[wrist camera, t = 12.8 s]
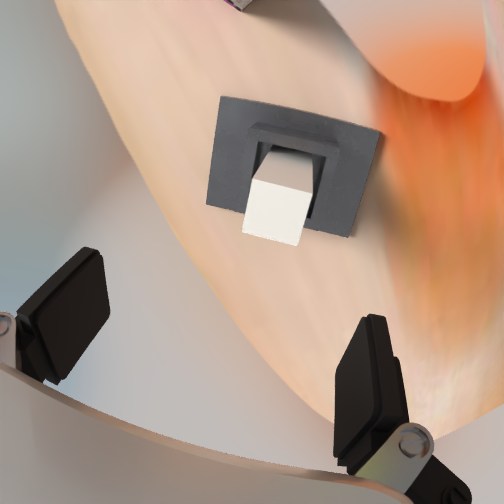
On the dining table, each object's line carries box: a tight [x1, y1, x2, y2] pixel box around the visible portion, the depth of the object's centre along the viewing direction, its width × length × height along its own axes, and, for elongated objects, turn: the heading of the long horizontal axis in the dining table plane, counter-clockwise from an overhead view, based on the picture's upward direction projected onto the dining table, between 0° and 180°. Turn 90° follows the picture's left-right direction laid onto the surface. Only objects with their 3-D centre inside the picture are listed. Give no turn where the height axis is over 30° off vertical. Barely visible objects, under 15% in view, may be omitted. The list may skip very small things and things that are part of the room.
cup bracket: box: [206, 96, 380, 238], centre depth 30 cm, size 16×12×6 cm
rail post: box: [242, 145, 313, 246], centre depth 27 cm, size 4×4×12 cm
